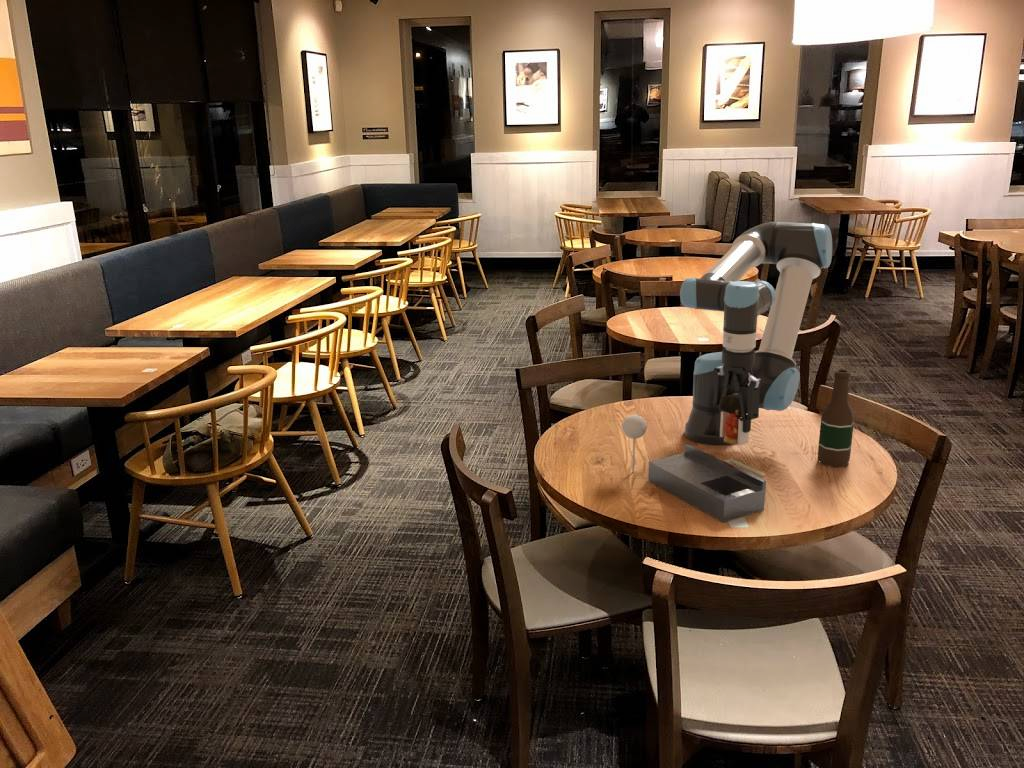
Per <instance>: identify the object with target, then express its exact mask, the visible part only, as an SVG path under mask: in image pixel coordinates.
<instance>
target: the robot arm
mask: <svg viewBox="0 0 1024 768" xmlns="http://www.w3.org/2000/svg"><path fill="white" fill-rule="evenodd" d="M832 259H833V237H832V231H831V229H830V227H829V225H827V224H821V223H815V222H812V223H808V222H805V223H803V222H787V221H785V222H784V221H769V222H765V223H761V224H759V225H756V226H754V227H752V228H749V229H747V230H745V231H744V232H743V233H741V234H740V235H739V236H738V237H736V238H735V239H734V241H733V242H732V244H731V248H730V249H729V250H728V251H727V252H726V253H725V254H724V255H723V256H722V257H721V258H720V259H719V260H718V261H717V262H715V264H713V265H712V267H710V268H709V269H708V271H706V272H705V273H704V274H703V275H702V276H701V277H700V278H697V277H693V278H692V277H688V278H685V279H684V280H683V281H682V284H681V287H680V291H679V297H680V303H681V304H682V306H683V307H685V308H687V309H688V308H689V309H694V310H703V311H704V310H705V311H716V312H722V313H723V327H722V328H723V329H722V331H723V332H722V347H723V348H722V349H721V351H719V352H718V351H717V352H711V353H710V352H709V353H705V354H702V355H700V356H698V357H697V358H696V360H695V361H694V369H693V381H692V382H693V383H692V384H693V385H692V386H693V387H692V408H691V411H690V412H689V416H688V419H687V422H686V423H685V427H684V436H685V437H686V438H687V439H688V440H691V441H693V442H694V443H695V442H696V443H698V444H704V445H712V446H713V445H714V446H721V445H722V446H724V445H731V444H730V443H726V442H724V437H725V434H726V433H725V430H724V426H725V424H727V418H728V417H729V415H730V413H728V412H724V411H723V410H722V408H721V406H720V402H721V398H722V396H728V395H731V394H733V393H738V396H739V403H740V410H741V418H739V426H738V444H737V445H739V446H742V445H745V444H748V443H749V433H750V432H751V427H752V420H755V419H758V418H759V414H760V409H763V410H766V411H777V412H778V411H779V412H781V411H784V410H787V409H788V407H790V406H791V404H792V403H793V402H794V399H795V398H796V395H797V392H798V391H799V390H798V389H799V383H800V379H801V376H800V375H801V373H800V371H799V369H798V368H796V366H797V362H796V361H795V360H794V359H793V355H794V350H795V346H796V343H797V339H798V335H799V331H800V328H801V324H802V320H803V316H804V312H805V309H806V306H807V302H808V298H809V294H810V291H811V286H812V282H813V280H814V279H817V278H818V277H819V276H820V275H821V273H822V272H821V271H822V269H826V268H827V269H828V268H829V267H830V265H831V263H832ZM762 264H771V265H772V264H773V265H776V269H777V271H779V276H778V280H777V283H776V288H774V287H773V285H772V284H770V283H769V282H768V281H765V280H755V281H746V280H745V281H744V280H741V279H742V278H744V276H745V275H746V274H747V273H748V272H749V271H750V270H751V269H753V268H756V267H758V266H759V265H762ZM767 311H769V313H768V316H767V319H766V324H765V327H764V331H763V334H762V338H761V341H760V345H759V348H758V350H755V348H756V345H757V344H756V343H757V342H756V341H757V329H758V327H757V326H758V325H757V324H758V316H760V315H762V314H764V313H766V312H767Z"/></svg>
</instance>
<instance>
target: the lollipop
mask: <svg viewBox="0 0 1024 768" xmlns="http://www.w3.org/2000/svg"><path fill="white" fill-rule="evenodd" d="M621 429H622V432H623V433H624V435H625V436H626V437H627V438H629V439H632V465H631V466H632V467H631V470H632V473H633V472H634V473H635V454H636V453H635V452H636V439H639V438H640V439H641V438H642V437H643V436H644V435H645V433H646V432H647V430H648V424H647V421H646V420H645V419H644V418H643V417H642V416H641V415H637V414H630V415H628V416H626V418H624V420H623V422H622V423H621Z"/></svg>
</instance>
